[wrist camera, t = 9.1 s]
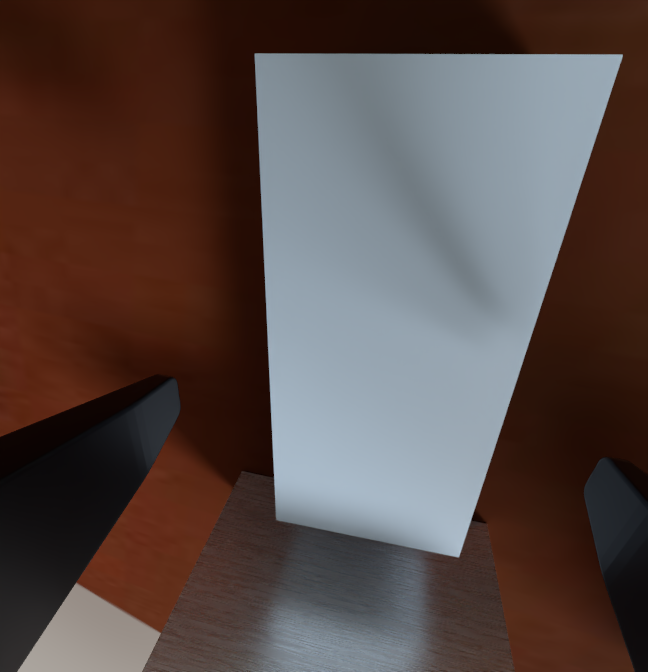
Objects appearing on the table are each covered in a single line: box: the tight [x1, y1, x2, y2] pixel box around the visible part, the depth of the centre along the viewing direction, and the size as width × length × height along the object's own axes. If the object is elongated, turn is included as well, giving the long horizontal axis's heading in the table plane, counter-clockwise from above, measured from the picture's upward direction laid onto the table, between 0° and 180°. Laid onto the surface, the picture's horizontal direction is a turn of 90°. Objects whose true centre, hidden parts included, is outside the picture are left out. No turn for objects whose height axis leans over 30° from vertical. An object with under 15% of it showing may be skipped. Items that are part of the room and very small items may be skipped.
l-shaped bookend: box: [142, 471, 515, 672], centre depth 17 cm, size 7×12×9 cm, turn 86°
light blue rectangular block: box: [255, 53, 623, 558], centre depth 12 cm, size 14×6×4 cm, turn 178°
